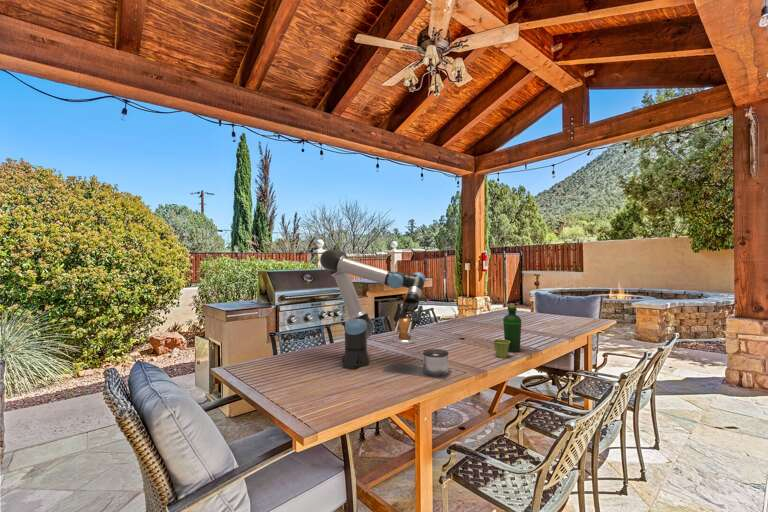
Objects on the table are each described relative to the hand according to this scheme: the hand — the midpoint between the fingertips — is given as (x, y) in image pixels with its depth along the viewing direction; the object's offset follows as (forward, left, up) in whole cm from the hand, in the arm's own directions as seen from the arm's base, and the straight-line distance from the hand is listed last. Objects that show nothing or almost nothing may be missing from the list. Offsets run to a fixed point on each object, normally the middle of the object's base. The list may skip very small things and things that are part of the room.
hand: (402, 333), depth 171 cm
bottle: (+47, +63, -20) cm, 82 cm away
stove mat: (+6, +3, -19) cm, 21 cm away
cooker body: (+16, +3, -18) cm, 25 cm away
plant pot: (+42, +48, -20) cm, 67 cm away
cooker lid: (0, +4, -4) cm, 6 cm away
